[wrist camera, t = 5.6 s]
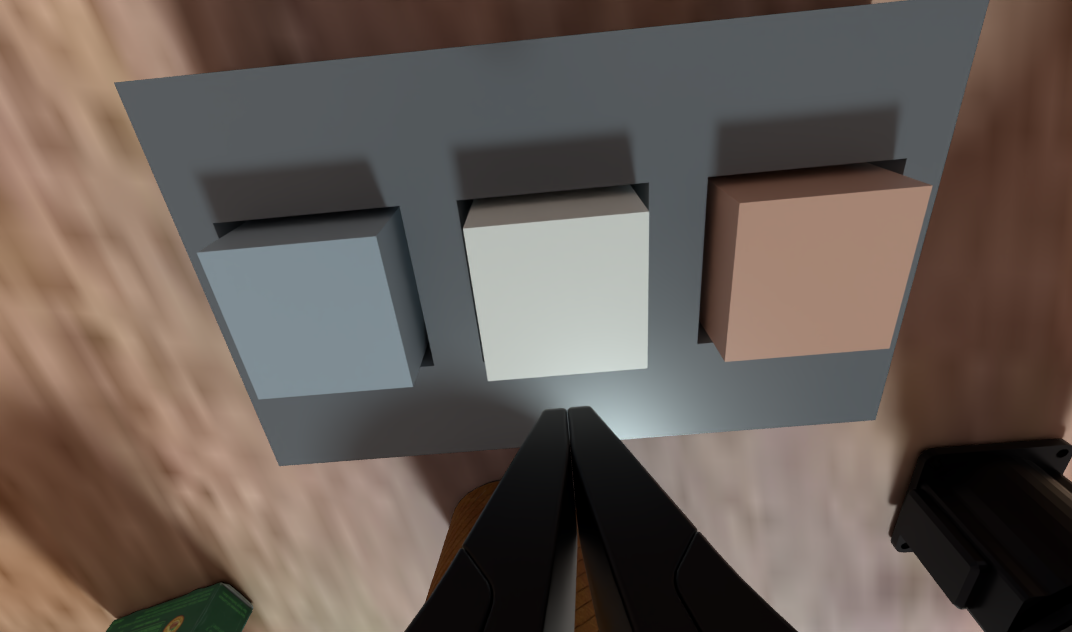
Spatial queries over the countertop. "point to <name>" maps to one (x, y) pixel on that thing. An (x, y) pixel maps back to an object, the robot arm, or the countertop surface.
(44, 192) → the countertop surface
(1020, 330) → the countertop surface
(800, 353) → the rust key
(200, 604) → the coffee box
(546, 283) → the pale key
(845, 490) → the countertop surface
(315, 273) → the slate key
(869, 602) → the countertop surface
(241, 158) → the key panel
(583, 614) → the disposable coffee cup
